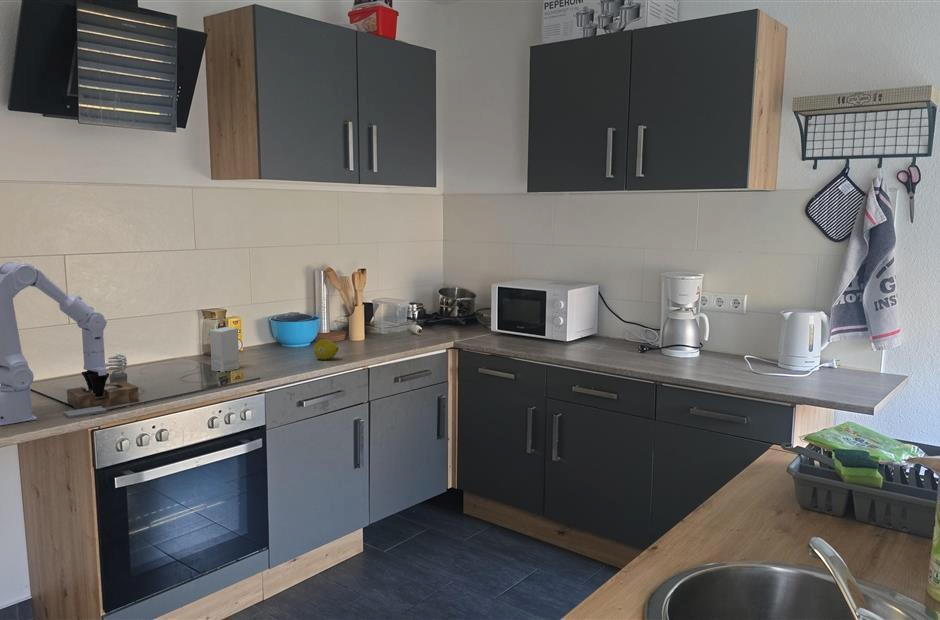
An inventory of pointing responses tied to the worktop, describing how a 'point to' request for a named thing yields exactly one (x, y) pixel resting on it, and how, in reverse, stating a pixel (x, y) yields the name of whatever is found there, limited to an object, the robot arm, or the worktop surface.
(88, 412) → the slate mat
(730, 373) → the worktop surface
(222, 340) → the skincare box
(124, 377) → the light bulb
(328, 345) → the lemon
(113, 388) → the aluminium tile
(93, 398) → the pocket board
